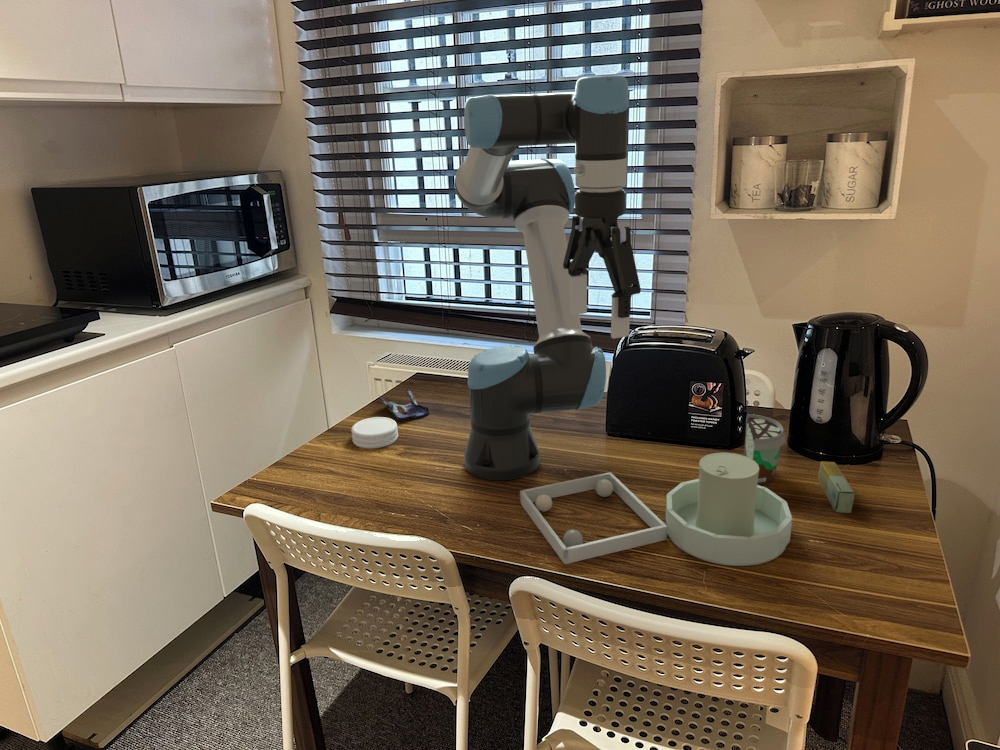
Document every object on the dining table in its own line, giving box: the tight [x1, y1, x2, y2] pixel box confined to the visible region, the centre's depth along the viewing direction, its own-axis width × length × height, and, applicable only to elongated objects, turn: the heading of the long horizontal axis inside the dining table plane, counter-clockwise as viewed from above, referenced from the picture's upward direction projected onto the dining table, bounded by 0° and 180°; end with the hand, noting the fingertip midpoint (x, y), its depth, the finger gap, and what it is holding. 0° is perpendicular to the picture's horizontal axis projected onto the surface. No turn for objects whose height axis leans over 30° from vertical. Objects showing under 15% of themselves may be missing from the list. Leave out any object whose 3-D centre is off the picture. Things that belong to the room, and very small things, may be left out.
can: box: [695, 452, 759, 537], centre depth 114 cm, size 9×9×12 cm
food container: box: [743, 413, 786, 486], centre depth 132 cm, size 12×6×10 cm, turn 168°
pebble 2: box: [562, 528, 584, 548], centre depth 113 cm, size 3×3×3 cm
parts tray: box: [519, 471, 668, 565], centre depth 120 cm, size 20×18×2 cm
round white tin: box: [350, 416, 399, 450], centre depth 155 cm, size 10×10×4 cm
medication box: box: [817, 461, 856, 514], centre depth 125 cm, size 12×3×4 cm, turn 171°
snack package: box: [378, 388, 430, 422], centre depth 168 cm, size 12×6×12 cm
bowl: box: [665, 478, 793, 567], centre depth 115 cm, size 19×19×5 cm
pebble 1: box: [534, 494, 553, 513], centre depth 124 cm, size 3×3×3 cm
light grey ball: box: [594, 479, 614, 498], centre depth 128 cm, size 3×3×3 cm
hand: (598, 324), depth 113 cm, fingers open, 13 cm apart
